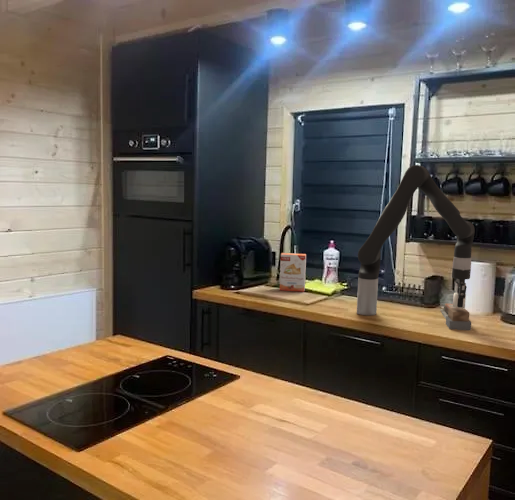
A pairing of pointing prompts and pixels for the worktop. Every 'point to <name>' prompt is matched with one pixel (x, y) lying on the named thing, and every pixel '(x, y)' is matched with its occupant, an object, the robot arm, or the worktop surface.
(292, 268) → the cracker box
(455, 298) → the cream cylinder
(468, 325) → the charcoal base block
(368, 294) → the robot arm
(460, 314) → the walnut block
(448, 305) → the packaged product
